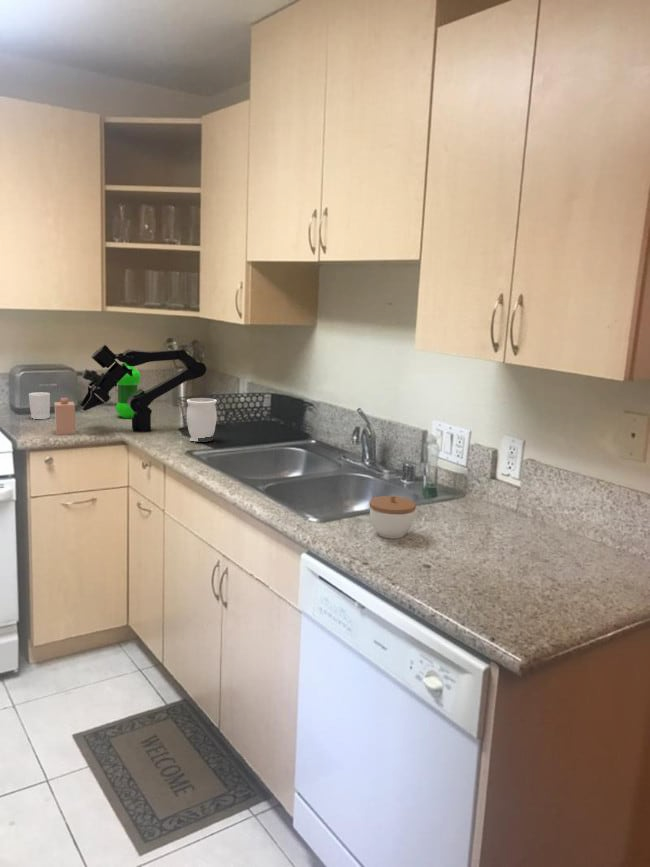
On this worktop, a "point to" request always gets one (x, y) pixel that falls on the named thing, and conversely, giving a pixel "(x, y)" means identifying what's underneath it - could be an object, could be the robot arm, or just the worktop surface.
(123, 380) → the plastic bottle
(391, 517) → the lidded jar
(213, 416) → the jar
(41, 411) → the white cup
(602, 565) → the worktop surface
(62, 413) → the pink square bottle
